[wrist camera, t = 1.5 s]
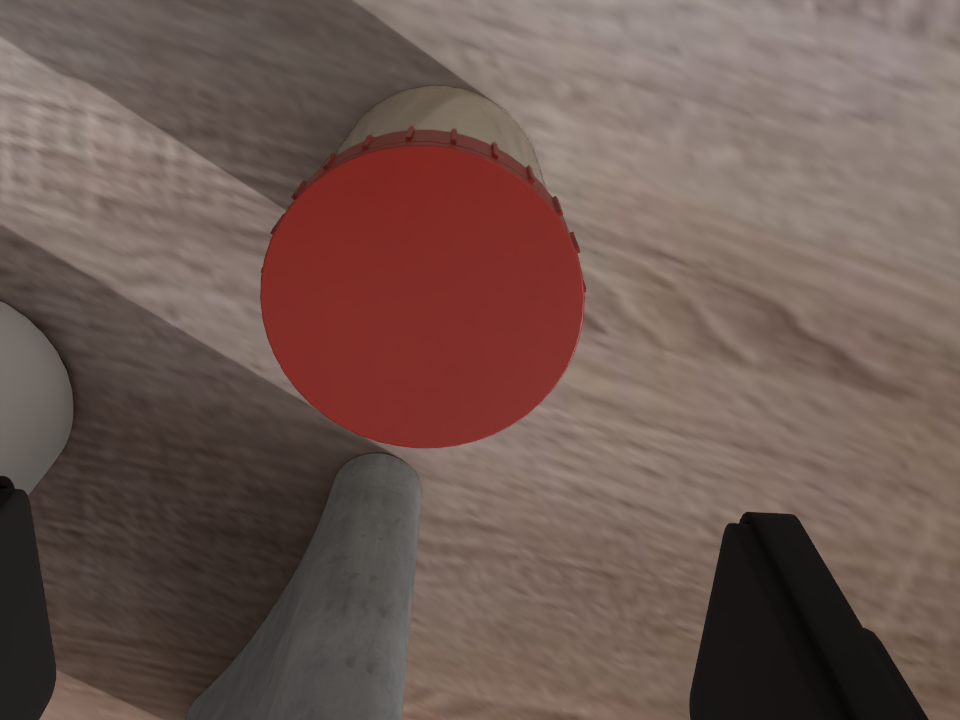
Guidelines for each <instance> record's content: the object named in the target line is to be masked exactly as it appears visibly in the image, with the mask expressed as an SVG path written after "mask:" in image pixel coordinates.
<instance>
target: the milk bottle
mask: <svg viewBox="0 0 960 720" xmlns="http://www.w3.org/2000/svg"><path fill="white" fill-rule="evenodd" d="M72 422H73V395H72V388H71V385H70V382H69V378H68V374H67V370H66V368H65V367H64V365H63V363H62V361H61V359H60V357H59V354H58V352H57V351H56V350H55V348H54V347H53V346H52V345H51V343H50V342H49V340H48V339H47V338H46V336H45V335H44V334H43V333H42V332H41V331H40V330H39V329H38V328H37V327H36V326H35V325H34V324H33V323H32V322H31V321H30V320H29V319H28V318H26V317H25V316H23V315H22V314H20V313H19V312H17V311H16V310H15V309H13V308H12V307H10V306H9V305H8V304H5V303H3V302H1V301H0V476H6V477H8V478H10V479H11V481H12V483H13V484H14V487H15V489H22V490H24V491H25V492H26V493H27V495H29V494H30V493H31V491H32V490H33V489H34V488H35V487H36V485H37V484H38V483H39V482H40V480H41V479H42V478H43V477H44V475H45V474H46V473H47V471H48V470H49V469H50V467H51V466H52V465H53V463H54V462H55V460H56V459H57V458H58V456H59V455H60V453H61V452H62V451H63V449H64V447H65V445H66V443H67V441H68V438H69V435H70V432H71V428H72Z"/></svg>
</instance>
